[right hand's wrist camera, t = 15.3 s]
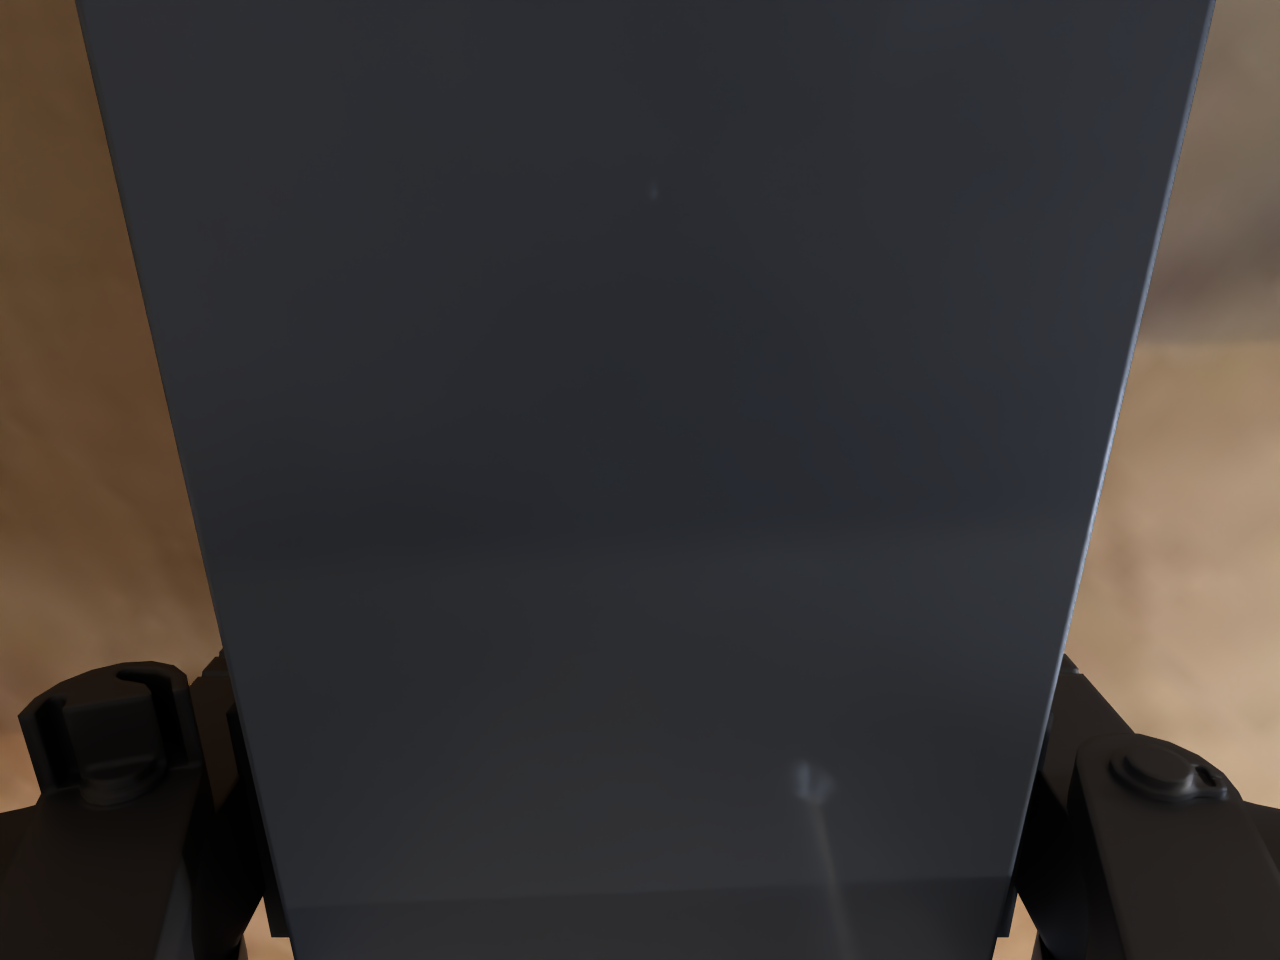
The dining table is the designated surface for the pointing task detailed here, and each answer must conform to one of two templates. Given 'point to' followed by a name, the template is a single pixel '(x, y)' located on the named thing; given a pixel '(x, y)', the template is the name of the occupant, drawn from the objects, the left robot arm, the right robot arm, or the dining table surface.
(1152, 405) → the dining table surface
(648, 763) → the beam
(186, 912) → the right robot arm
